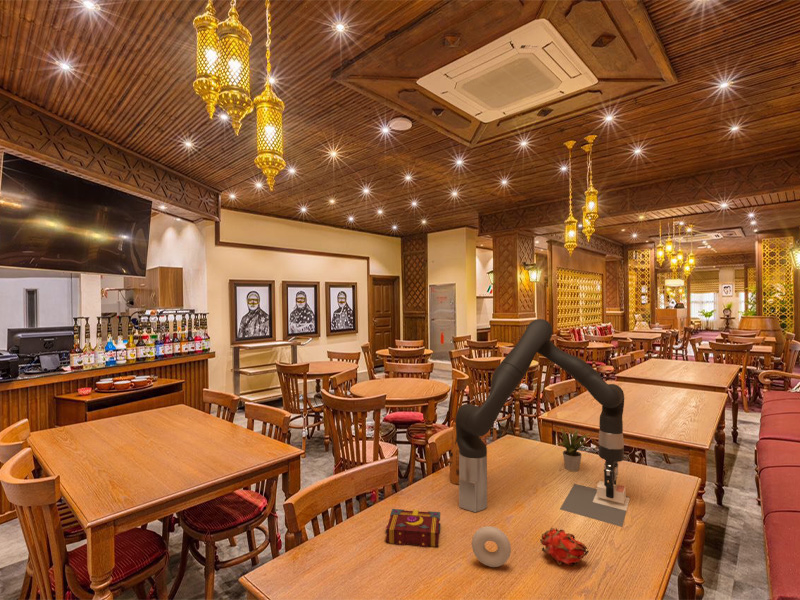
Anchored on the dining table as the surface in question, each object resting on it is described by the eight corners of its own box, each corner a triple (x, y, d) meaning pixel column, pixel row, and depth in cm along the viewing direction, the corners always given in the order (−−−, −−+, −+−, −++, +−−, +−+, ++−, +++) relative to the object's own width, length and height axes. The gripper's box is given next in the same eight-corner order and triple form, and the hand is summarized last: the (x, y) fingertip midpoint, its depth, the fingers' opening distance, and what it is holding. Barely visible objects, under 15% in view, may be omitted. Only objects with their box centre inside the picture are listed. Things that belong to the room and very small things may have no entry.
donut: (511, 564, 105) (510, 526, 105) (511, 573, 102) (511, 533, 102) (472, 558, 108) (472, 521, 107) (471, 566, 104) (470, 528, 104)
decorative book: (438, 549, 112) (438, 531, 112) (381, 544, 114) (381, 527, 114) (440, 526, 123) (440, 510, 123) (388, 522, 125) (388, 506, 125)
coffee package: (450, 473, 160) (449, 418, 160) (482, 475, 157) (481, 419, 157) (448, 485, 150) (448, 426, 150) (482, 487, 148) (482, 427, 148)
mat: (622, 528, 121) (622, 526, 121) (559, 511, 131) (559, 508, 131) (630, 498, 139) (630, 496, 139) (574, 485, 149) (574, 483, 149)
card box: (596, 496, 137) (596, 485, 137) (599, 490, 141) (599, 480, 141) (623, 503, 132) (623, 492, 132) (625, 497, 137) (625, 486, 137)
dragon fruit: (536, 558, 110) (584, 575, 105) (538, 556, 103) (589, 574, 99) (541, 524, 114) (587, 539, 110) (543, 520, 107) (592, 536, 103)
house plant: (595, 479, 153) (595, 437, 153) (556, 474, 158) (556, 433, 158) (590, 465, 167) (590, 425, 167) (554, 461, 171) (554, 422, 171)
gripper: (602, 436, 145) (602, 482, 145) (595, 448, 133) (595, 499, 133) (626, 440, 140) (626, 488, 140) (620, 453, 129) (621, 505, 129)
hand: (611, 493), depth 137 cm, fingers open, 5 cm apart
